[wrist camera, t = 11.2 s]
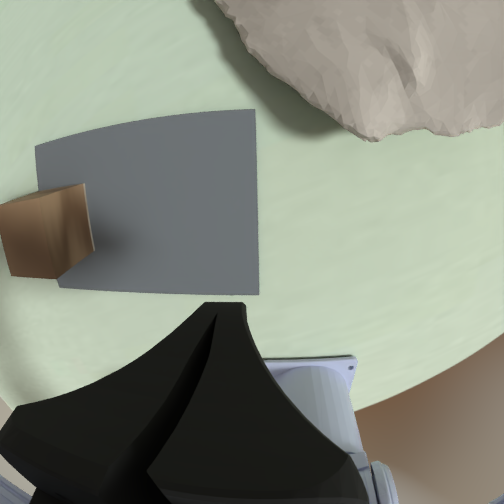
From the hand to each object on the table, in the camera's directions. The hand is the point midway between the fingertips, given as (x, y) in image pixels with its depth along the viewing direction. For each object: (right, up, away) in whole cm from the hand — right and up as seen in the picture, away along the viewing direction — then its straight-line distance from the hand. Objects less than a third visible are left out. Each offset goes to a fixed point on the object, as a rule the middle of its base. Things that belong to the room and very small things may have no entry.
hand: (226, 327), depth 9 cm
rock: (+13, +22, +2) cm, 25 cm away
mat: (-7, +5, +9) cm, 13 cm away
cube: (-13, +3, +4) cm, 15 cm away
